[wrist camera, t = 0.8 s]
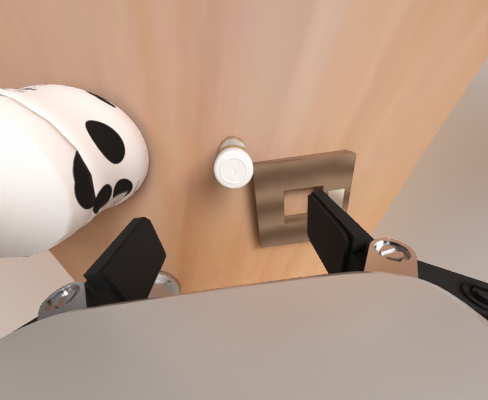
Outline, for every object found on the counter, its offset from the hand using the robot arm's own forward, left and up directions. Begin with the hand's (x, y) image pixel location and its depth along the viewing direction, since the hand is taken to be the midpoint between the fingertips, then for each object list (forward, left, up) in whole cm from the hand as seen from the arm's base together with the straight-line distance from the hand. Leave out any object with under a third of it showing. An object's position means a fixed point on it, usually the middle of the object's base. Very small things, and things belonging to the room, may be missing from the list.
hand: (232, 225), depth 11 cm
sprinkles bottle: (0, 0, -24) cm, 24 cm away
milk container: (+3, +22, -24) cm, 33 cm away
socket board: (-12, -12, -24) cm, 29 cm away
